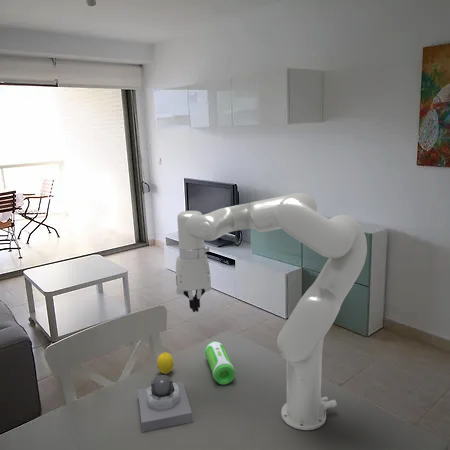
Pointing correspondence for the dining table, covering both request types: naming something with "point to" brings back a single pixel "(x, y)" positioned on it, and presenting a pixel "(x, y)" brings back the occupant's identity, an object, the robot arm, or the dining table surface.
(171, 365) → the lemon
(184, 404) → the plate with octagonal ring
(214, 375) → the speaker
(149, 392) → the octagonal blue-lined ring
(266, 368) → the dining table surface
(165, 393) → the dark grey domed knob
